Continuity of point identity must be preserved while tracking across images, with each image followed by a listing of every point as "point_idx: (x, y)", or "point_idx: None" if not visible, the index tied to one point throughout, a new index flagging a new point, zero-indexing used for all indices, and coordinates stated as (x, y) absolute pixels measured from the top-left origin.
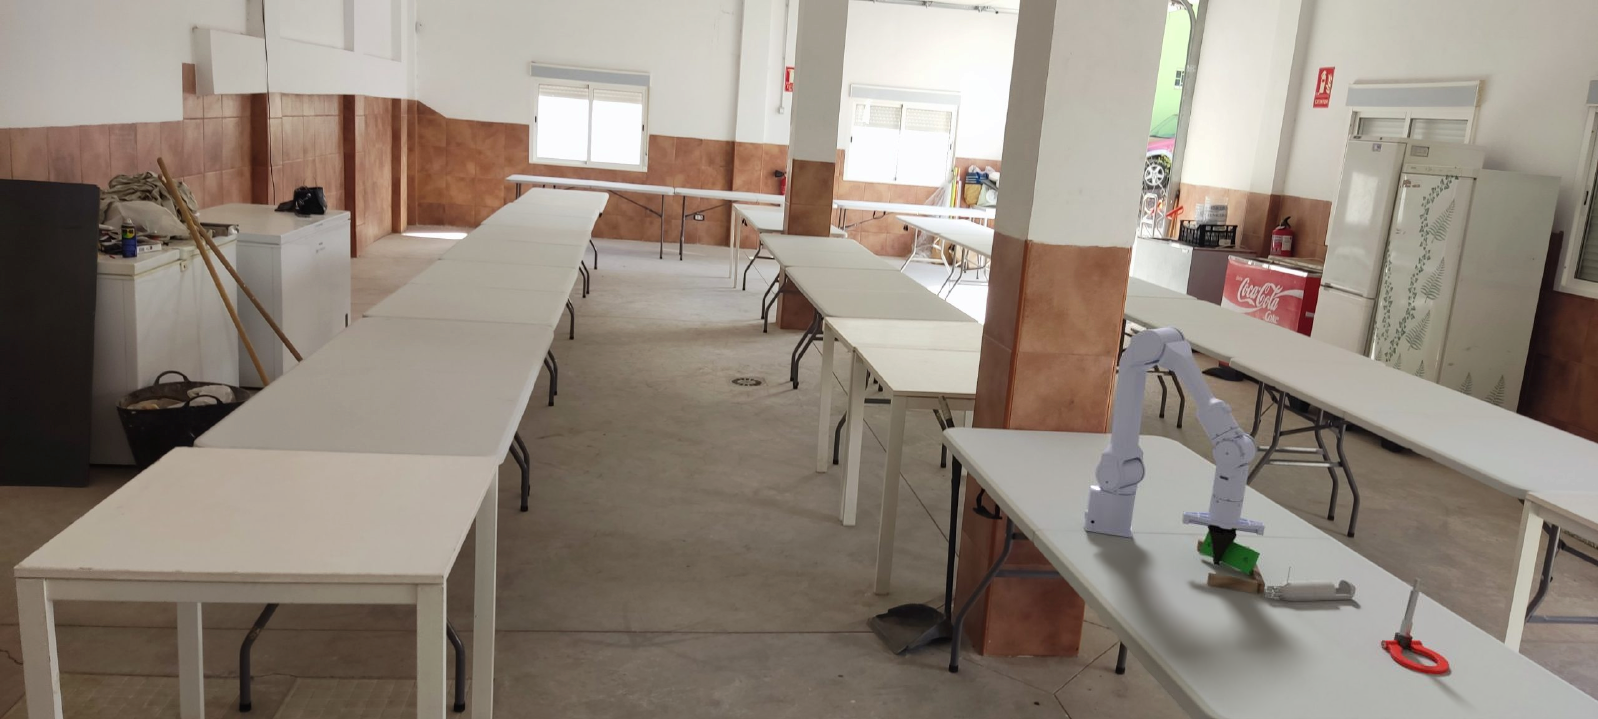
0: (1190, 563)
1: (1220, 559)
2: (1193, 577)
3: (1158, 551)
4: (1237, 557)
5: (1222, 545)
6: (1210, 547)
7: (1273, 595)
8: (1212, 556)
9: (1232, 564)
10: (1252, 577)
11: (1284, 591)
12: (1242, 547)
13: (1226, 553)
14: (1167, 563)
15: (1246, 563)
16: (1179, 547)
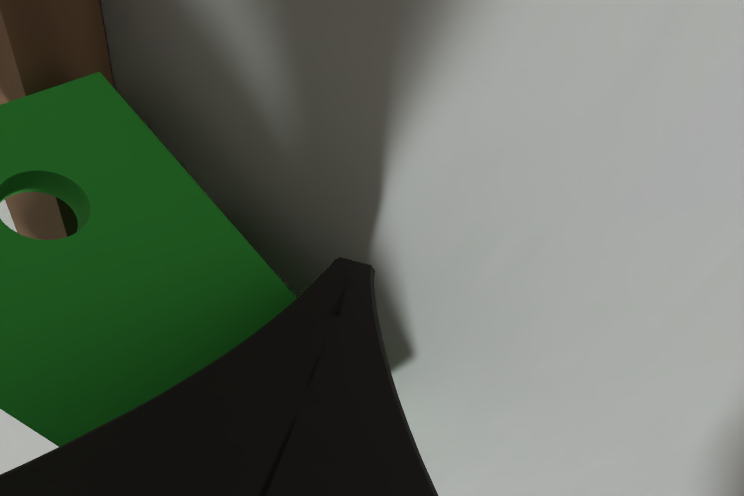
0: (515, 323)
1: (322, 278)
2: (701, 20)
3: (639, 452)
4: (144, 278)
5: (269, 407)
6: None
7: None
8: None
9: (223, 241)
10: (75, 49)
11: None
12: (3, 375)
13: None
14: (731, 311)
15: (58, 167)
16: (464, 479)
